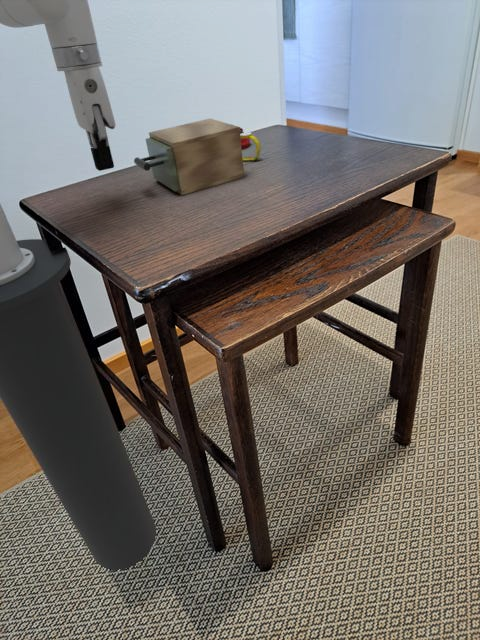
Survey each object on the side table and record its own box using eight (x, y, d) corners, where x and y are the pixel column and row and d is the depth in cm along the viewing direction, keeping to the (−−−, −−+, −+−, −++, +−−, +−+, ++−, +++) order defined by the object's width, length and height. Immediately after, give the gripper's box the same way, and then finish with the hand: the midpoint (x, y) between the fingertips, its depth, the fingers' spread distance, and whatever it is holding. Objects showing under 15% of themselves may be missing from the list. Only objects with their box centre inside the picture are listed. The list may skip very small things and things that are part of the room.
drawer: (155, 197, 88) (145, 154, 83) (135, 183, 97) (125, 143, 92) (233, 174, 94) (228, 133, 90) (208, 163, 103) (202, 125, 98)
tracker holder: (256, 142, 113) (217, 139, 110) (252, 159, 116) (215, 156, 113) (244, 121, 121) (208, 118, 118) (241, 137, 124) (205, 134, 121)
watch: (262, 158, 105) (260, 132, 101) (258, 162, 103) (255, 135, 99) (240, 158, 107) (237, 131, 104) (234, 161, 105) (231, 135, 102)
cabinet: (182, 195, 90) (172, 143, 84) (158, 180, 100) (148, 132, 94) (244, 177, 95) (239, 126, 90) (216, 164, 105) (210, 118, 99)
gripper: (111, 56, 72) (136, 172, 82) (88, 55, 83) (113, 157, 93) (64, 62, 69) (96, 181, 79) (47, 60, 80) (77, 165, 90)
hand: (105, 168), depth 86 cm, fingers closed
